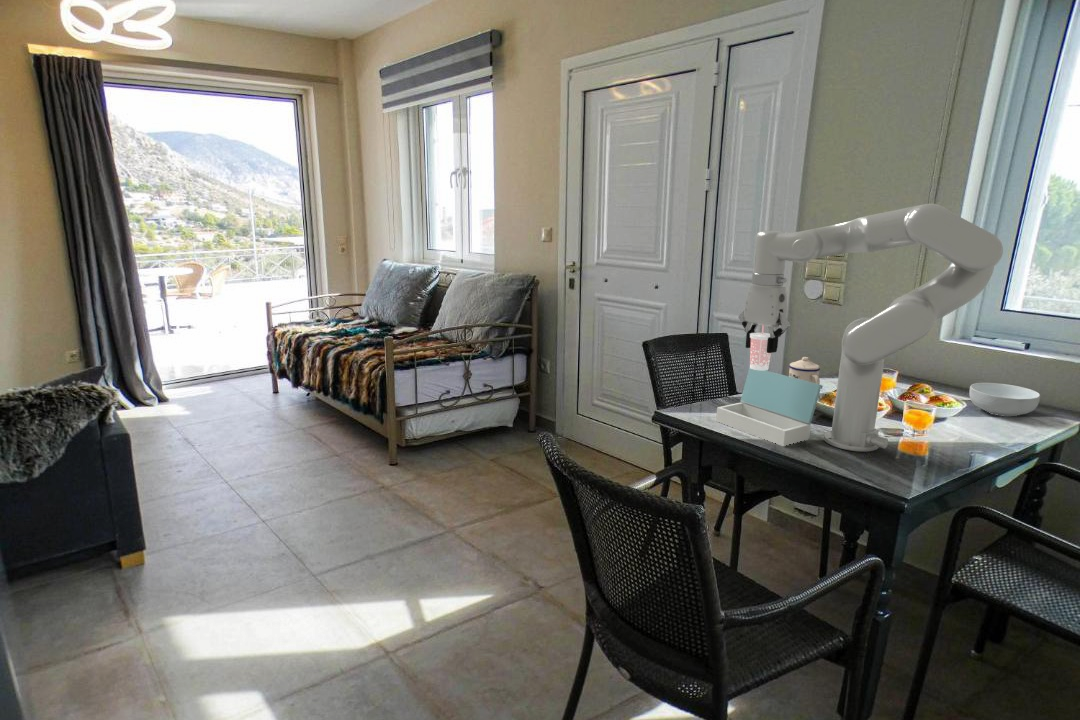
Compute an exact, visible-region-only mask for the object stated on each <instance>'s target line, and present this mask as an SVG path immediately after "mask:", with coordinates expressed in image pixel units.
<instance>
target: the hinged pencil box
mask: <svg viewBox="0 0 1080 720" xmlns="http://www.w3.org/2000/svg"><path fill="white" fill-rule="evenodd" d="M716 421H717V423H719V422H720V423H719V424H722V425H724V424H725V426H727V425H728V426H727V427H730V428H732V427H733V428H732V429H735V430H738V431H741V432H743V433H747V434H749V435H750V436H751V435H752V436H754V437H756V436H757V438H759V437H760V439H762V440H764V439H765V441H767V440H768V442H769V443H772V442H773V444H775V443H776V444H775V445H778V446H780V447H783V446H784V447H787V446H790V445H789V444H791V445H794V444H798V443H801V442H800V441H802V442H805V441H808V439H809V440H810V435H811V434H810V433H811V424H812V423H811V424H810V425H809V424H806V423H803V422H800V421H797V420H794V419H791V418H788V417H785V416H782V415H779V414H776V413H773V412H769V411H766V410H763V409H760V408H757V407H754V406H751V405H748V404H745V403H742V402H736V403H731V404H727V405H722V406H717V408H716V419H715V422H716ZM804 440H805V441H804ZM797 442H798V443H797ZM793 443H794V444H793ZM786 445H787V446H786Z"/></svg>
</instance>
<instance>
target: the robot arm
mask: <svg viewBox="0 0 1080 720" xmlns="http://www.w3.org/2000/svg"><path fill="white" fill-rule="evenodd" d="M918 244H920V245H921V246H923V247H925V248H926V249H927V250H930V251H931V252H932V253H935V254H936V255H938V256H940V257H941V258H943V259H945V260H948V261H949V262H950V264H949V266H948V267H947V268H946V269H945V270H944V271H943V272H942V273H940V274H938V275H937V276H935V277H933V278H932V279H930V280H929V281H927V282H926V283H924V284H922V285H920V286H918V287H917V288H914V289H913V290H911V291H909V292H907V293H905V294H903V295H900V296H899V297H897V298H895V299H894V300H893V301H891V303H890V304H889V306H888V307H887V308H885V309H883V310H881V311H880V312H878V313H877V314H874V315H872V316H871V317H860V318H858V319H855V320H853V321H852V322H850V323H848V325H847V327H845V329H844V331H843V334H842V338H841V353H840V354H841V355H840V361H839V363H840V364H839V370H838V378H837V385H836V391H835V392H836V393H835V401H834V408H833V409H834V411H833V417H832V424H831V430H829V431H827V432H825V433H824V435H823V441H825V442H826V443H827V444H829V445H831V446H833V447H834V448H839V449H843V450H847V451H852V452H873V451H876V450H878V449H880V448H882V449H886V448H887V447H888V442H889V439H888V438H887V437H884V436H880V435H879V430H880V429H877V428H875V427H876V421H877V415H878V408H879V407H878V406H879V401H880V393H881V386H882V382H883V381H882V380H883V373H884V367H885V366H884V365H885V364H884V363H885V360H886V358H888V357H890V356H892V355H895V354H896V353H898V352H900V351H901V350H903V349H904V350H905V348H907V347H910V346H911V345H913V344H914V343H916V342H919V341H920V340H922V339H923V338H925V337H926V336H928V335H929V333H930V332H931V331H932V330H933V328H934V327H935V324H936V322H937V321H939V320H940V319H943V318H944V317H945V316H948V315H950V314H951V313H953V312H955V311H956V310H958V309H960V308H961V307H964V306H965V305H967V304H968V303H969V302H971V301H972V300H974V299H975V298H976V297H977V296H979V294H980V293H982V291H984V289H985V287H986V286H987V285H988V284H989V282H990V279H991V277H992V276H993V273H994V269H995V266H997V264H999V262H1000V261H1001V259H1002V257H1003V254H1004V247H1003V244H1002V241H1001V240H1000V238H999V237H998V236H996V235H995V234H994V233H991V232H990V231H988V230H986V229H984V228H982V227H980V226H978V225H976V224H975V223H973V222H970V221H969V220H967V219H965V218H963V217H961V216H959V215H957V214H956V213H954V212H952V211H950V210H949V209H947V208H946V207H944V206H942V205H940V204H937V203H925V204H919V205H914V206H909V207H904V208H900V209H894V210H889V211H885V212H879V213H875V214H870V215H864V216H862V217H861V216H860V217H858V218H855V219H852V220H849V221H845V222H841V223H835V224H832V225H831V224H830V225H826V226H822V227H817V228H812V229H806V230H801V231H795V232H794V231H793V232H785V231H782V230H781V231H780V230H761V231H759V232H757V233H756V236H755V242H754V254H753V265H752V277H751V278H752V279H751V284H749V287H748V290H747V293H746V299H745V305H744V310H743V311H742V312H741V313H740V314H739V315H738V320H739V321H740V323H741V325H742V327H743V328H744V333H746V335H745V348H746V349H750V348H751V338H750V333H757V331H756V329H757V327H758V325H759V326H762V325H764V327H767V328H768V329H767V330H768V333H769V334H770V337H769V338H768V342H767V353H771V354H772V353H776V352H777V351H778V346H779V338H780V337H781V336H782V335H783V334H784V333H785V332H786V331H787V330H788V329H790V328H791V323H790V322H789V320H788V319H787V314H788V313H787V311H788V310H787V309H788V298H787V289H786V287H785V286H784V284H786V283H787V278H786V277H784V276H785V267H786V261H789V262H793V263H800V264H802V263H807V262H810V261H811V260H815V259H820V258H826V257H832V256H837V255H843V254H853V253H854V254H855V253H856V254H857V253H858V254H866V253H873V252H874V253H875V252H878V251H884V250H890V249H896V248H902V247H908V246H914V245H918Z"/></svg>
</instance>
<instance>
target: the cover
mask: <svg viewBox="0 0 1080 720" xmlns="http://www.w3.org/2000/svg"><path fill="white" fill-rule="evenodd" d="M823 386H824V385H822V384H815V383H812V382H808V381H804V380H800V379H797V378H793V377H789V375H784V374H781V373H777V372H773V371H770V370H764V371H761V370H754V369H751V368H750V366H749V368H748V372H747V376H746V379H745V382H744V386H743V389H742V394H741V398H740V402H742V403H745V404H748V405H751V406H754V407H757V408H760V409H763V410H766V411H769V412H773V413H776V414H779V415H782V416H785V417H788V418H791V419H794V420H797V421H800V422H803V423H806V424H809V425H810V424H812V420H813V416H814V413H815V410H816V406H817V402H818V399H819V396H820V393H821V390H822V389H823ZM740 402H739V403H740Z"/></svg>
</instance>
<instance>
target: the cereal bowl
mask: <svg viewBox="0 0 1080 720" xmlns="http://www.w3.org/2000/svg"><path fill="white" fill-rule="evenodd" d="M968 392H969V399H970V401H971V402H972V404H973V405H975V406H976V407H977V408H979V409H981V410H983V411H984V410H985V411H987V412H990V413H993V414H998V415H1004V416H1016V415H1018V416H1021V415H1025V414H1029V413H1031V412H1033V411H1035V410H1036V408H1037V407H1038V406H1039V403H1040V399H1041V394H1040V393H1039V392H1037V391H1035V390H1033V389H1030V388H1027V387H1023V386H1018V385H1013V384H1012V385H1011V384H1005V383H997V382H976V383H972V384H971V385H970V386H969V391H968ZM985 411H984V412H985ZM987 412H986V413H987ZM1016 417H1017V416H1016Z"/></svg>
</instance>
